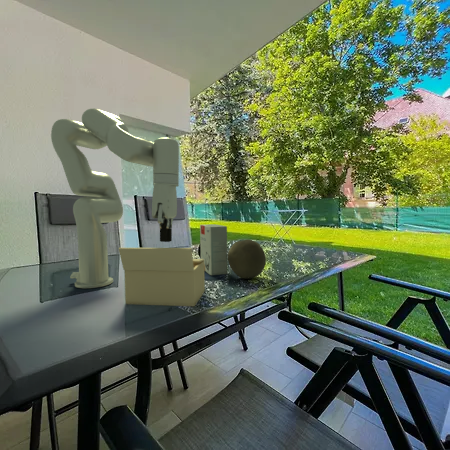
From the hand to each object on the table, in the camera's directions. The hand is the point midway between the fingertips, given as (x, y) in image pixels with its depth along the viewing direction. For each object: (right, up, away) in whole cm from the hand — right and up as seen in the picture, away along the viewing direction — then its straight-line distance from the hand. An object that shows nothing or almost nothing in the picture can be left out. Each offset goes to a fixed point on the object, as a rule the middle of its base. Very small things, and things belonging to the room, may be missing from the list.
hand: (165, 241), depth 83 cm
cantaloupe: (+27, -16, +20) cm, 37 cm away
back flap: (+1, -6, +2) cm, 7 cm away
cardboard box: (+1, -17, -1) cm, 17 cm away
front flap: (0, -4, -9) cm, 10 cm away
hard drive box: (+13, -15, +35) cm, 40 cm away
